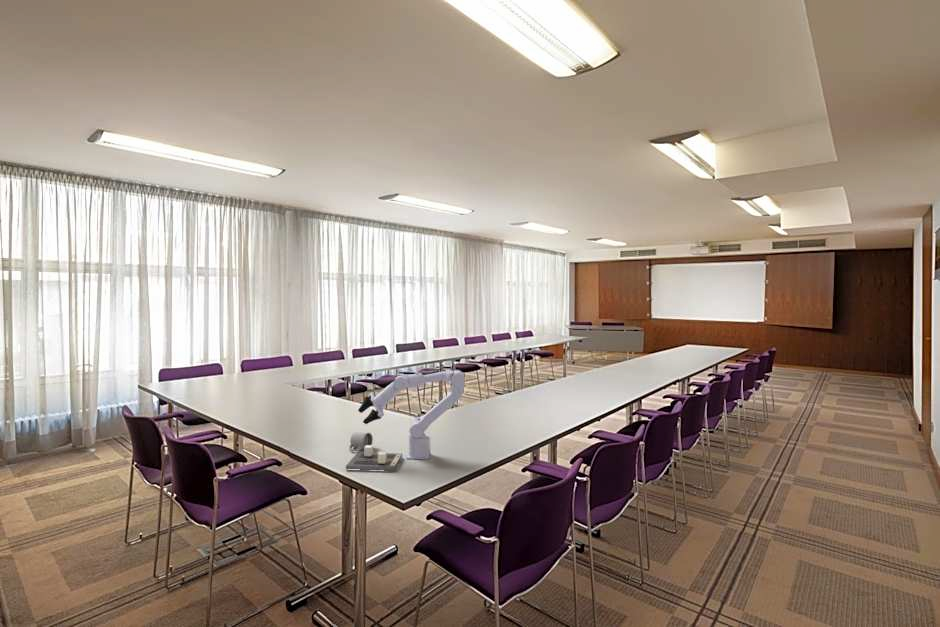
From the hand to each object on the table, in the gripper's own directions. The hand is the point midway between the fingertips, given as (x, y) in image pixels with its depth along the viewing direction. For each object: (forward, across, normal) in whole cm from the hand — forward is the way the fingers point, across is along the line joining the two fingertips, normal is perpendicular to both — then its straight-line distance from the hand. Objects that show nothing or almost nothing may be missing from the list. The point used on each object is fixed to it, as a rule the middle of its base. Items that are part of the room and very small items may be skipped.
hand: (362, 417), depth 204 cm
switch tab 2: (+3, +22, +6) cm, 23 cm away
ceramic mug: (+14, -2, +16) cm, 21 cm away
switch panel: (+7, +18, +9) cm, 21 cm away
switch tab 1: (+8, +12, +8) cm, 17 cm away
